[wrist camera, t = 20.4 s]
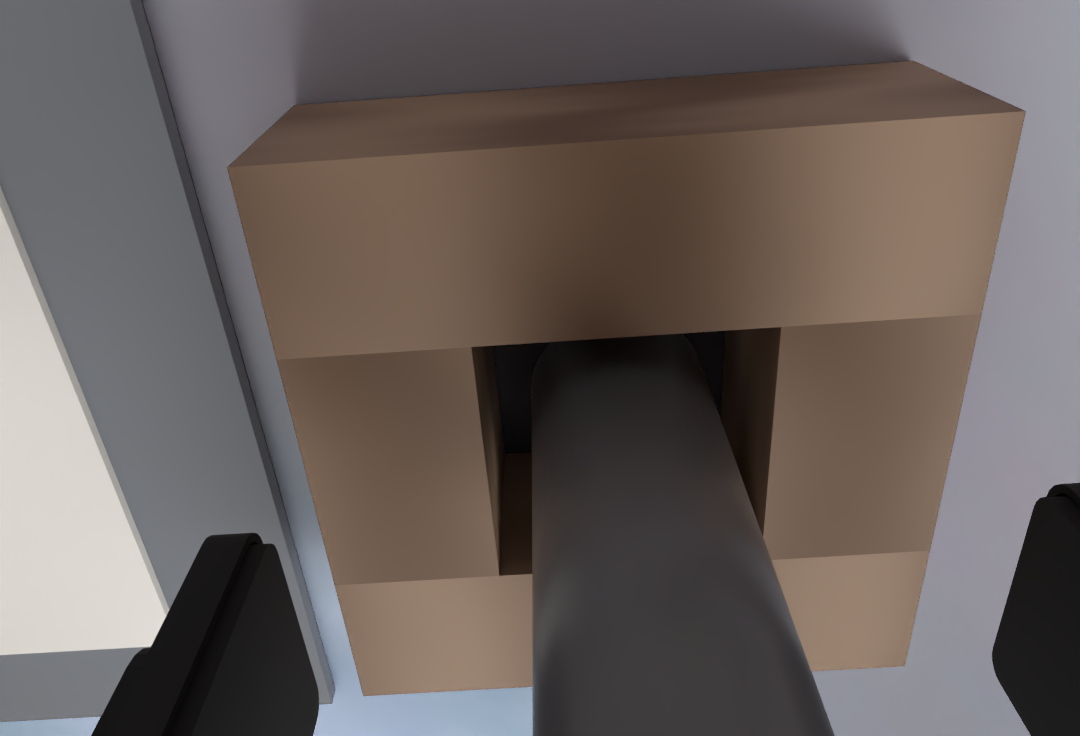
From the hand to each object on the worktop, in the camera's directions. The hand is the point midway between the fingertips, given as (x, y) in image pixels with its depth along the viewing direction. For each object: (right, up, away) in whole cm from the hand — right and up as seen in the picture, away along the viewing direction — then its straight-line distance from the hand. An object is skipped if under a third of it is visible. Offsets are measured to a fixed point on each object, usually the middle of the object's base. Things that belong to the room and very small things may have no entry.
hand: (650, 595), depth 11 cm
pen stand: (0, +3, +5) cm, 6 cm away
